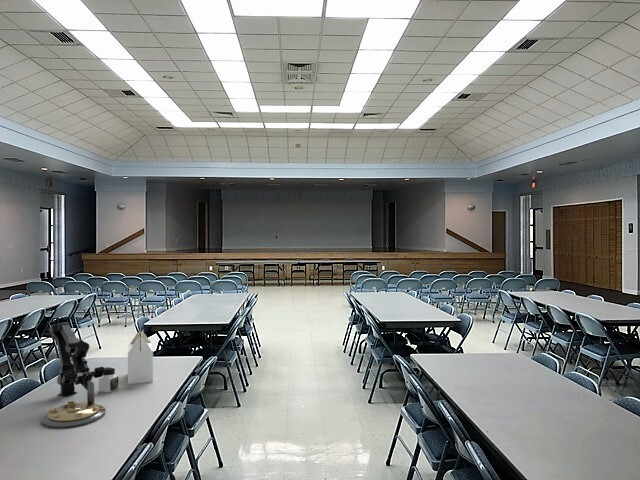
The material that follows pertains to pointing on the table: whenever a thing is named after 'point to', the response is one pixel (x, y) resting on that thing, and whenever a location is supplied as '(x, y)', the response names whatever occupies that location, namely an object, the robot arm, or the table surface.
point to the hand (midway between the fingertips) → (88, 390)
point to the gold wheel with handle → (76, 408)
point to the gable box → (140, 359)
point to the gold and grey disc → (94, 418)
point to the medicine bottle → (108, 380)
